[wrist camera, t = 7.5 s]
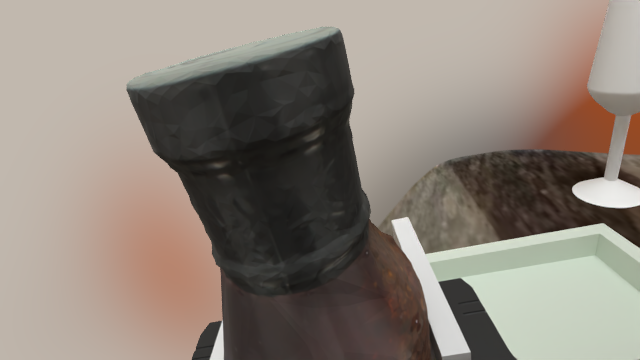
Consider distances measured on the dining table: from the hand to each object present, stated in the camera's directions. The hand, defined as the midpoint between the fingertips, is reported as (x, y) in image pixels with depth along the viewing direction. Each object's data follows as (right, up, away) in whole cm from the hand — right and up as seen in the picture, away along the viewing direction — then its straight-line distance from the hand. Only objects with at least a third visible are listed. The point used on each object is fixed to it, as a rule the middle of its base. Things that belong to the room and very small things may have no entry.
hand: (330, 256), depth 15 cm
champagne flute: (+34, +2, +23) cm, 41 cm away
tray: (+16, -8, +11) cm, 21 cm away
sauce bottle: (+2, -11, 0) cm, 11 cm away
